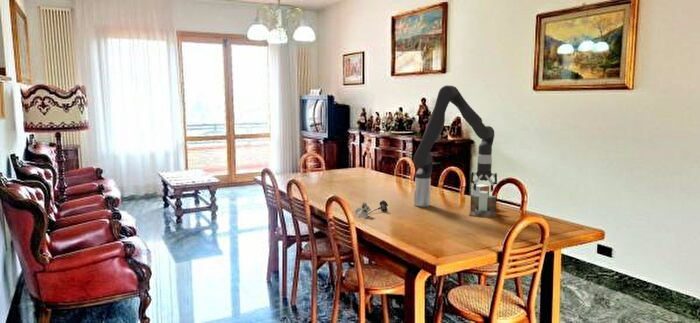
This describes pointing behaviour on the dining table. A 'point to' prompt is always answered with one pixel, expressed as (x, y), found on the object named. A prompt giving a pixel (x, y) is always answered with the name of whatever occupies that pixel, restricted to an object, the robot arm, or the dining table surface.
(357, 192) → the dining table surface
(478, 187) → the small box
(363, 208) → the artificial flower
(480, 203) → the block
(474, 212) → the cleat stand
